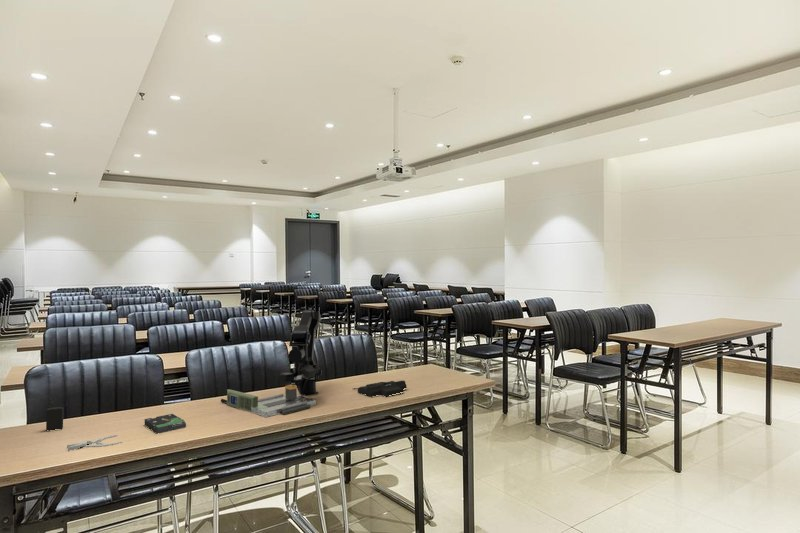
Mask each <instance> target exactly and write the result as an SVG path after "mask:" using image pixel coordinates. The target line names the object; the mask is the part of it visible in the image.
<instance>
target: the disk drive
mask: <svg viewBox="0 0 800 533" xmlns="http://www.w3.org/2000/svg"><path fill="white" fill-rule="evenodd" d="M145 425H146V427H147V428H148V427H149V430H151V429H152V430H153V431H152V430H151V431H152V432H154V433H155V432H156V433H155V434H158V433H159V434H162V433H163V434H164V433H167V432H171V431H175V430H179V429H185V428H187V423H186V420H184V419H182V418H181V417H180V416H177V415H176V414H174V413H168V414H164V415H159V416H156V417H153V418H152V417H148V418H145V419H144V426H145Z"/></svg>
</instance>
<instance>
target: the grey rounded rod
mask: <svg viewBox="0 0 800 533" xmlns="http://www.w3.org/2000/svg"><path fill="white" fill-rule="evenodd" d="M282 396H284V393H280V394H276V395H272V396H271V395H270V396H267V397H263V398H258V402H260V401H265V400H269V399H273V398H278V397H282Z"/></svg>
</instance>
